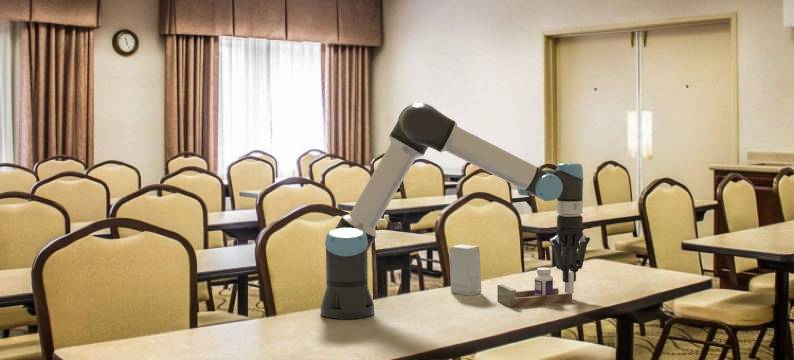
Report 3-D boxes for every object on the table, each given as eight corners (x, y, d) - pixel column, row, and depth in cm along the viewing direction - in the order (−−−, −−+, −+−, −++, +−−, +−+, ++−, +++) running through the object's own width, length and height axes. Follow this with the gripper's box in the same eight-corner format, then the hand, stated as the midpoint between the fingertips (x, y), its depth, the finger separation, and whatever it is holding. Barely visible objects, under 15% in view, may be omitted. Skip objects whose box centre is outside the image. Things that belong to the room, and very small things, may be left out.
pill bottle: (552, 299, 270) (552, 267, 269) (553, 303, 265) (553, 270, 264) (534, 298, 271) (534, 266, 270) (534, 302, 265) (535, 270, 265)
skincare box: (481, 293, 279) (481, 246, 278) (468, 296, 275) (468, 248, 274) (461, 289, 285) (461, 243, 284) (448, 292, 281) (448, 245, 280)
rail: (511, 307, 259) (511, 290, 259) (497, 301, 268) (497, 284, 267) (572, 301, 266) (572, 285, 266) (556, 296, 274) (556, 279, 274)
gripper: (556, 217, 263) (556, 296, 265) (595, 215, 267) (594, 293, 269) (544, 214, 270) (543, 292, 272) (582, 212, 274) (581, 288, 276)
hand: (569, 292), depth 271 cm, fingers closed
